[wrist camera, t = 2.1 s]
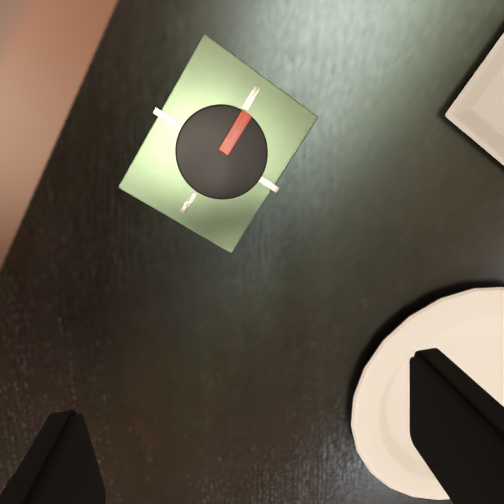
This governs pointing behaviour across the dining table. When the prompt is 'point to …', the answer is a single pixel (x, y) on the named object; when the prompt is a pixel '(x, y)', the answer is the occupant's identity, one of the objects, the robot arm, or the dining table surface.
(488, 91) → the dessert
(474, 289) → the plate
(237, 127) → the dial
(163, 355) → the dining table surface
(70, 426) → the robot arm
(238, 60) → the dial panel
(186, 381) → the dining table surface
